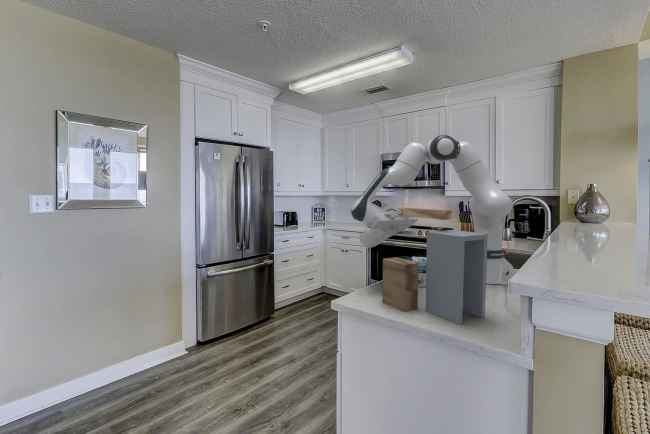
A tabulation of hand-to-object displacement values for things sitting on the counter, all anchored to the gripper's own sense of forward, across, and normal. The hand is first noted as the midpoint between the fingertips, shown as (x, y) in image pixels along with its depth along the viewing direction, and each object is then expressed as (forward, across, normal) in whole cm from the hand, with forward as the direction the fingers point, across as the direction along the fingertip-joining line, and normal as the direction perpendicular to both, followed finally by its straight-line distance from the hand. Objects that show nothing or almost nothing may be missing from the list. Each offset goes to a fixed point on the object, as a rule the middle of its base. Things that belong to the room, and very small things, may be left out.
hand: (406, 210), depth 120 cm
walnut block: (-9, -10, +32) cm, 34 cm away
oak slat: (+6, 0, +6) cm, 8 cm away
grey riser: (+4, 0, +39) cm, 39 cm away
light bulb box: (-23, +16, +24) cm, 37 cm away
